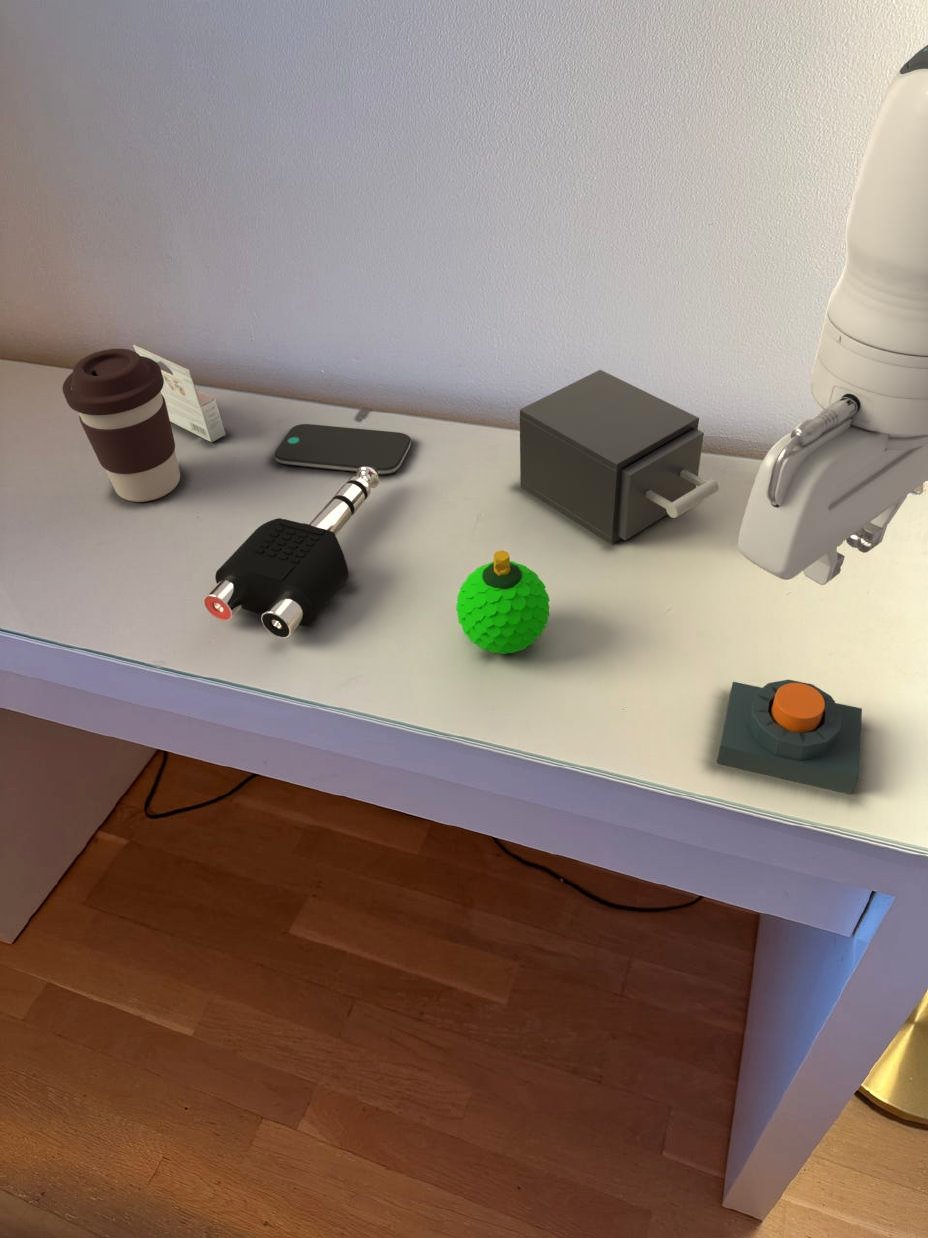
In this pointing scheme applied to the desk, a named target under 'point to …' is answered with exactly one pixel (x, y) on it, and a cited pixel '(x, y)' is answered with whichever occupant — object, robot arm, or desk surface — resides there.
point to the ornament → (503, 605)
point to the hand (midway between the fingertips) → (841, 559)
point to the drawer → (662, 484)
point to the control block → (791, 740)
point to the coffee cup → (126, 421)
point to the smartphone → (343, 448)
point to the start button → (798, 707)
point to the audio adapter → (290, 564)
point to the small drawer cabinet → (592, 445)
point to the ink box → (187, 401)
